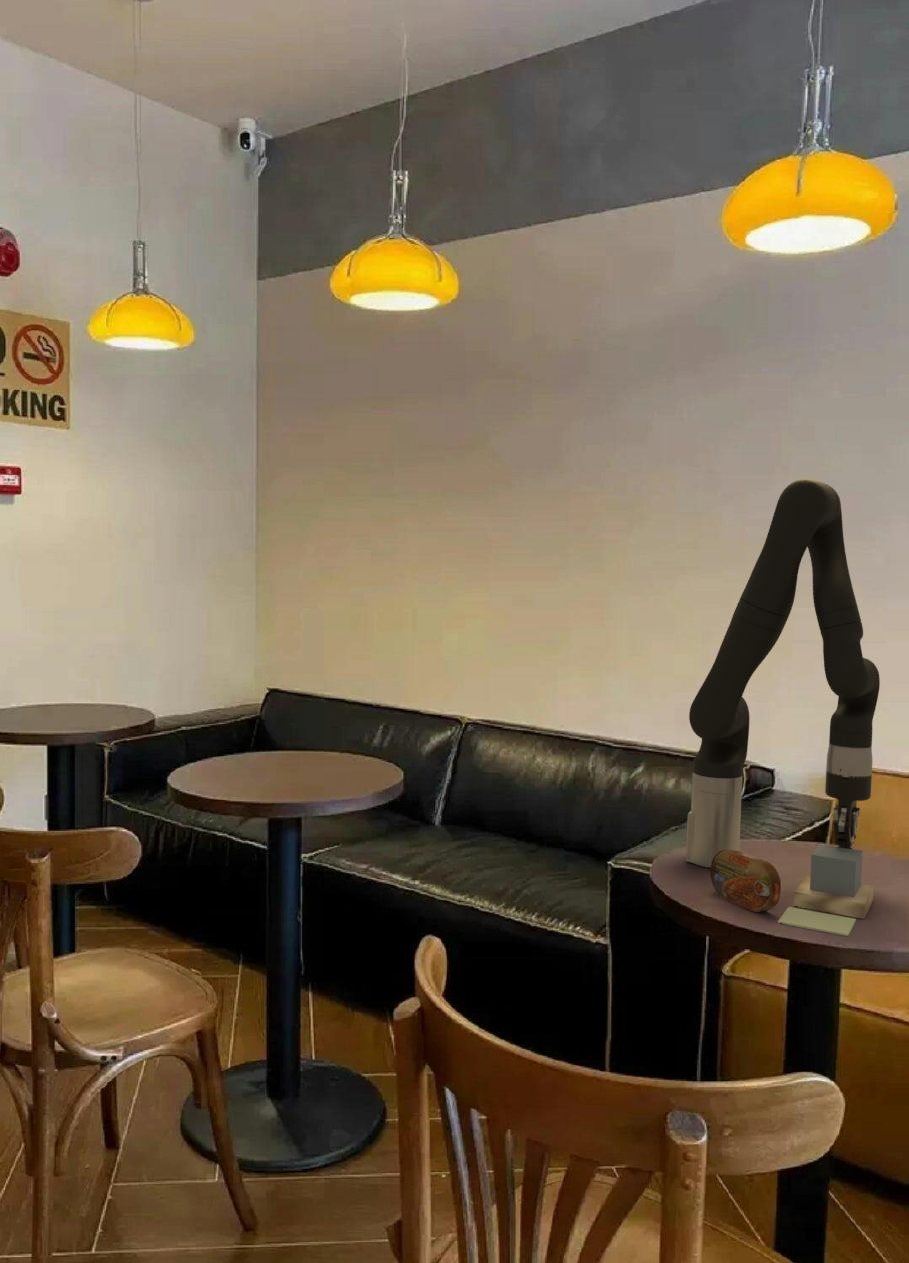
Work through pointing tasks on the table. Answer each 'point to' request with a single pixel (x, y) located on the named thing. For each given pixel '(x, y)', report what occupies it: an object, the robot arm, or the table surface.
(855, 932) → the table surface
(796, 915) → the mat
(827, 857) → the box
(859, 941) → the table surface
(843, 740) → the robot arm
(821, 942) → the table surface
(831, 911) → the block
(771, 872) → the tin
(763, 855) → the table surface
